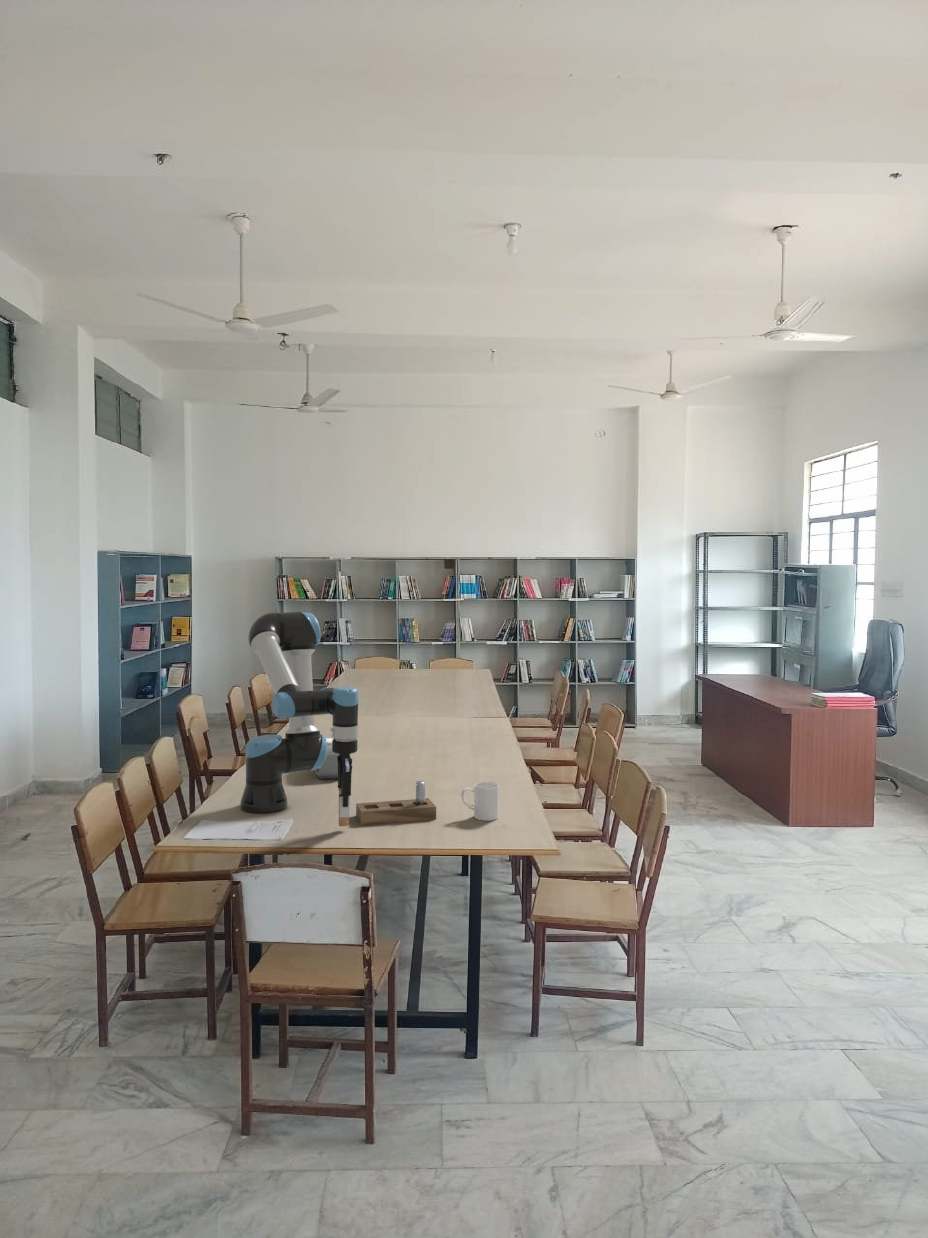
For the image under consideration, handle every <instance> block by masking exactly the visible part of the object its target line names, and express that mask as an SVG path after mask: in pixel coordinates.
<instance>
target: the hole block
mask: <svg viewBox="0 0 928 1238" xmlns="http://www.w3.org/2000/svg"><path fill="white" fill-rule="evenodd" d="M355 804H356V805H355V807H356V808H355V816H356V818H357V819H358V821H359V823H360V825H361V826H364V825H365V826H366V825H377V824H390V823H401V822H402V823H403V822H416V821H417V822H418V821H427V820H428V821H429V820H437V806H436V804H434V802H433V801H432V800H431V799H430V798H426V797H425V805H417V806H416V798H415V799H398V800H385V801H384V800H383V801H371V802H356V803H355Z"/></svg>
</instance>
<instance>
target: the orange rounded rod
mask: <svg viewBox="0 0 928 1238" xmlns="http://www.w3.org/2000/svg"><path fill="white" fill-rule="evenodd" d="M338 789H339V788H338ZM339 794H341V788H340V789H339V791H338V795H339ZM349 817H350V816H349ZM349 817H340V797H339V796H338V827H348V826H349V824H350V823H349V822H350V819H349Z"/></svg>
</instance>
